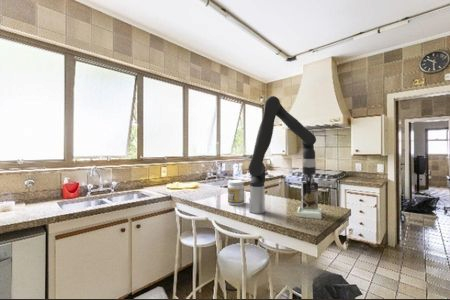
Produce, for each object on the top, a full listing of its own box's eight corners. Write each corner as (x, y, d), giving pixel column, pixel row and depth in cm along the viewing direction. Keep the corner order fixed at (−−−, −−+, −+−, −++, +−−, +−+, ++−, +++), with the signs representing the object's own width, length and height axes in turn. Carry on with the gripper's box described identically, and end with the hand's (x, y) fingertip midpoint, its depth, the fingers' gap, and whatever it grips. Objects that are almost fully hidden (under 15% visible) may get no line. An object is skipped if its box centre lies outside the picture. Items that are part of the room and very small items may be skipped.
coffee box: (302, 209, 145) (302, 183, 145) (300, 206, 152) (300, 181, 151) (318, 209, 144) (318, 183, 143) (315, 206, 150) (315, 181, 150)
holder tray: (296, 216, 144) (296, 212, 144) (298, 210, 157) (298, 206, 157) (321, 219, 139) (321, 214, 139) (321, 212, 152) (321, 208, 152)
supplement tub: (224, 204, 176) (224, 181, 176) (235, 200, 185) (235, 179, 184) (236, 207, 168) (236, 183, 167) (247, 203, 176) (247, 181, 176)
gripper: (303, 164, 155) (303, 189, 155) (301, 167, 142) (302, 194, 142) (316, 165, 152) (316, 190, 153) (315, 167, 139) (315, 195, 139)
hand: (309, 192), depth 147 cm, fingers closed on coffee box, 7 cm apart
